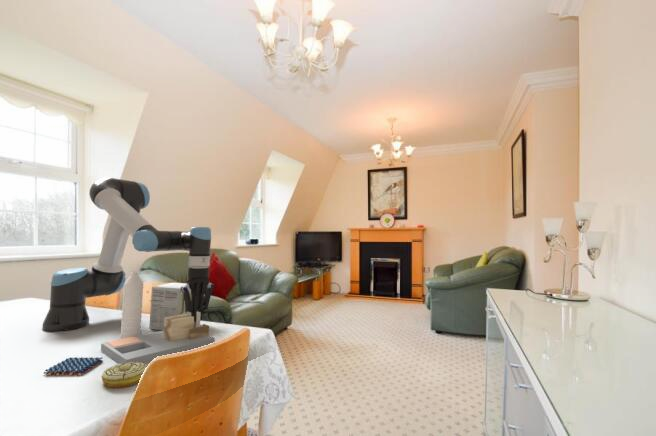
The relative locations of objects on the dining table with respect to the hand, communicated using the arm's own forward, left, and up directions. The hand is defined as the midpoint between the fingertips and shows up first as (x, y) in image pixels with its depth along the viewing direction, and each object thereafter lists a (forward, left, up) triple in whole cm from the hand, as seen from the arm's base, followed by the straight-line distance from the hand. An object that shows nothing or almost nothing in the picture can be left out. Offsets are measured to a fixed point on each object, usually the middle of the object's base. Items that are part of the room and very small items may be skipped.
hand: (196, 329), depth 124 cm
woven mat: (-1, -37, -4) cm, 37 cm away
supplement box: (-23, +3, -4) cm, 23 cm away
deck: (-1, -13, -4) cm, 13 cm away
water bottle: (-19, -14, -4) cm, 24 cm away
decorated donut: (+18, -30, -4) cm, 36 cm away
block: (0, -7, -1) cm, 7 cm away
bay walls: (0, -2, -1) cm, 2 cm away
